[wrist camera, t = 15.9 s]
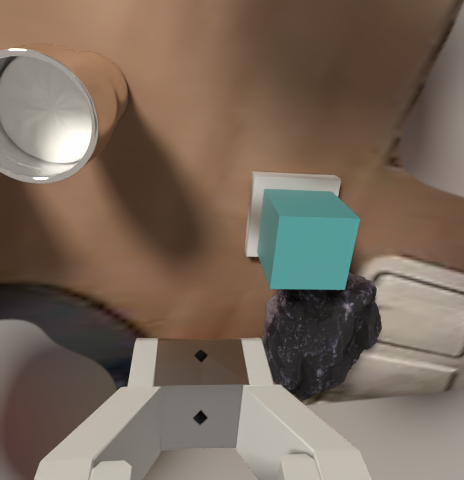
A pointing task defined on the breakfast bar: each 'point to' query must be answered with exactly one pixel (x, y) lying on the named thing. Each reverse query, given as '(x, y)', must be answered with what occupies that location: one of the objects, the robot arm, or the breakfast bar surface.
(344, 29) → the breakfast bar surface
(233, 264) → the breakfast bar surface
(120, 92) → the beer glass
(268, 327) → the dark grey rock
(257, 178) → the square base with post
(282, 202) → the turquoise cube
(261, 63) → the breakfast bar surface
